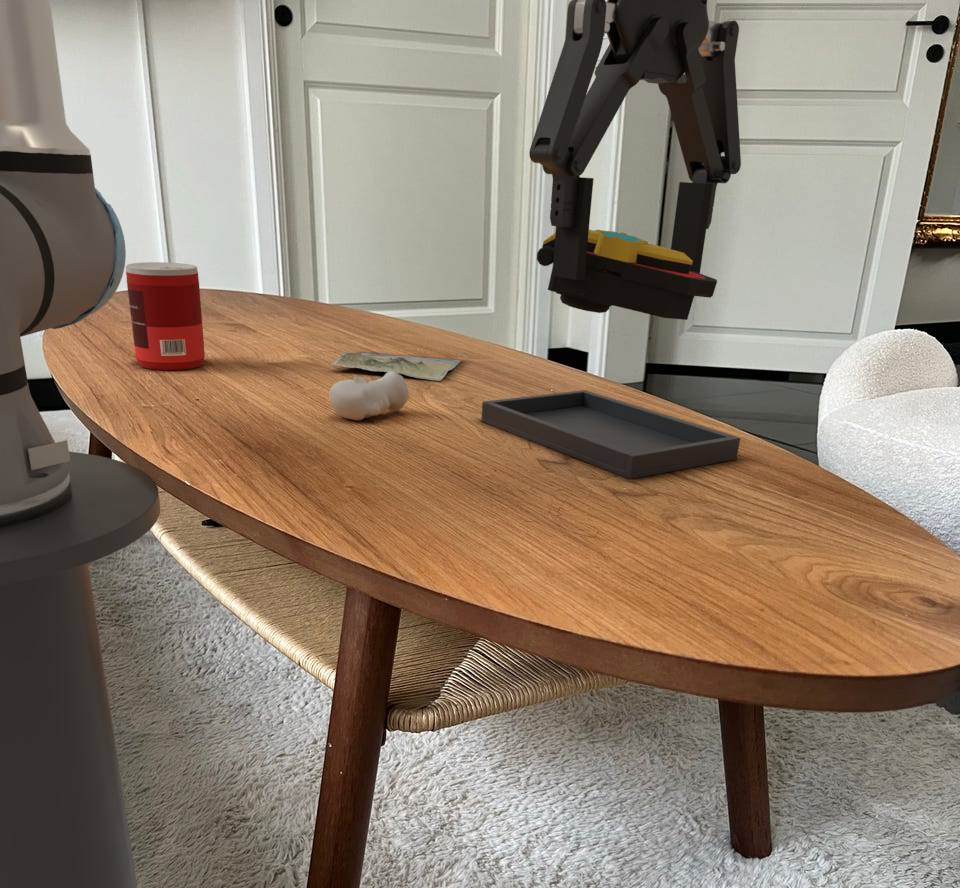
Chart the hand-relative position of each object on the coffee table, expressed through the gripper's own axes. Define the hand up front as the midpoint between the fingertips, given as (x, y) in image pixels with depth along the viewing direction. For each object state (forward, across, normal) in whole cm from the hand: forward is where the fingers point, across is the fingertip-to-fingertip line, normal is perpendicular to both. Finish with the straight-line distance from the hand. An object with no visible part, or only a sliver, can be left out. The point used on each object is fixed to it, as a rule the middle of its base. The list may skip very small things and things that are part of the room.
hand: (628, 276), depth 70 cm
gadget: (+3, 0, 0) cm, 3 cm away
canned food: (+16, -16, +59) cm, 64 cm away
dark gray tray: (+16, +9, +11) cm, 21 cm away
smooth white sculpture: (+16, -7, +28) cm, 33 cm away
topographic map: (+16, +9, +49) cm, 52 cm away
